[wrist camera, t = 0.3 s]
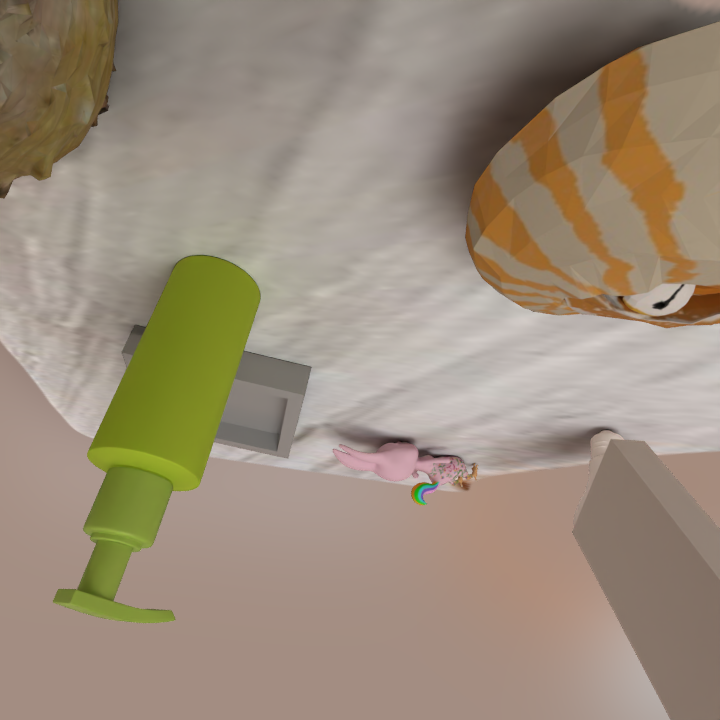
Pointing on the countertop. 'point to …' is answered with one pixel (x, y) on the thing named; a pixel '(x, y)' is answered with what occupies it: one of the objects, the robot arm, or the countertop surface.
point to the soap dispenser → (163, 422)
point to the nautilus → (613, 193)
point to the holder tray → (256, 401)
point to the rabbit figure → (407, 466)
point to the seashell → (51, 80)
